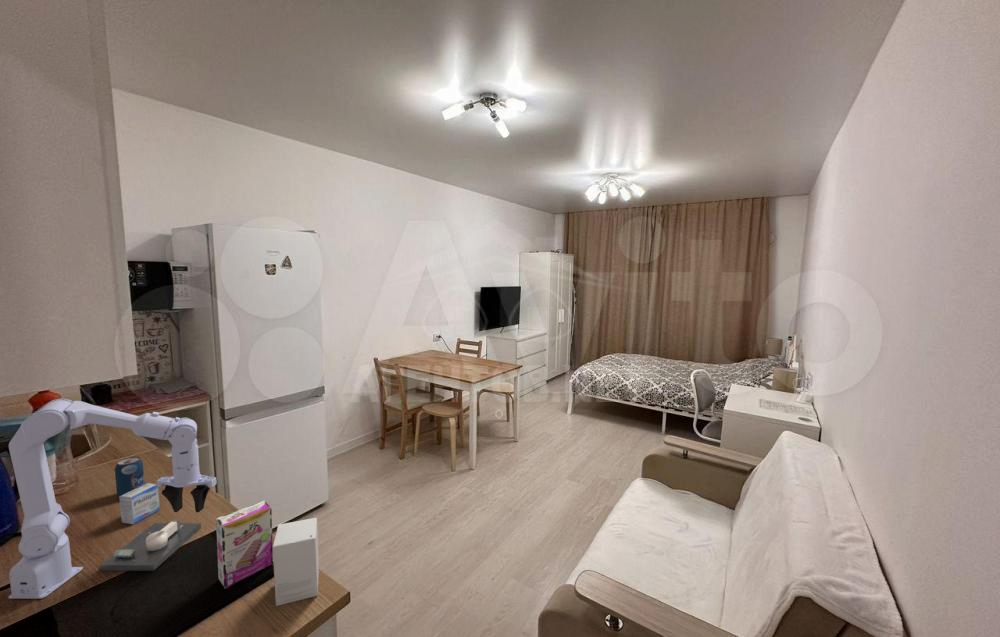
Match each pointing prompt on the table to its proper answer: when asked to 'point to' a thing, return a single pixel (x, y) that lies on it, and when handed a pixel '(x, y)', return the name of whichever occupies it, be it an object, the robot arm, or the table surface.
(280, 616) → the table surface
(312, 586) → the supplement box
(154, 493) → the medicine box
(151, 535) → the white long bulbous piece
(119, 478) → the soda can
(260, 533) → the candy bar box
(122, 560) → the base plate
